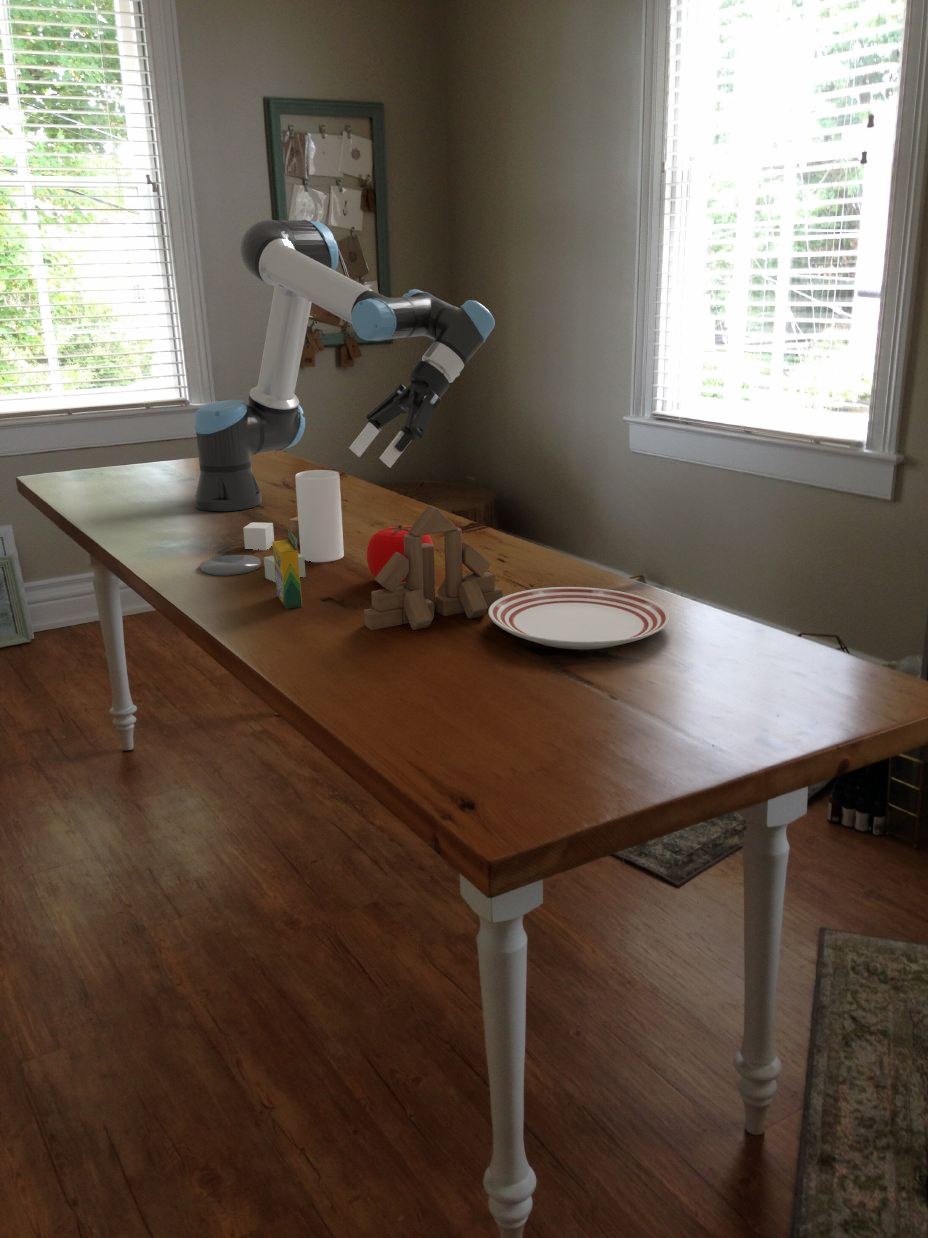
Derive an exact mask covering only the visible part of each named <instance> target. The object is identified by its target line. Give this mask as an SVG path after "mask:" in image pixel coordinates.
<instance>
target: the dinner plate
mask: <svg viewBox="0 0 928 1238" xmlns="http://www.w3.org/2000/svg"><path fill="white" fill-rule="evenodd" d="M487 612H488V617H489V619H490V620H491V621H492V622H493V624H495V625H496V626H498V627H499V628H500V629H502V630H504V631H506V632H507V633H509V634H512V635H513V636H516V637H518V638H521V639H525V640H527V641H530V642H534V643H536V644H539V645H543V646H546V647H552V648H559V649H566V650H597V649H605V648H613V647H617V646H622V645H624V644H628V643H632V642H633V643H634V642H636V641H640V640H642V639H644V638H645V639H646V638H647V637H650V636H652V635H653V634H654V635H655V634H656V633H658V632H659V631H661V630H663V629H664V628H666V627H667V625H669V623H670V621H671V619H670V618H671V616H670V614H669V612H668V610H666V608H665V607H664V606H663V605H661V604H660V603H657V602H655V601H653V600H652V599H649V598H646V597H643V596H640V595H636V594H634V593H628V592H625V591H624V592H623V591H619V590H613V589H605V588H597V587H585V586H584V587H583V586H556V587H553V586H552V587H540V588H535V589H533V588H532V589H527V590H523V591H518V592H515V593H514V592H513V593H511V594H508V595H505V596H502V598H500V599H498V600H497V601H495V602H494V603H493V604H492V605H491V606H490V607H488V610H487Z"/></svg>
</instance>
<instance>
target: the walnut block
mask: <svg viewBox="0 0 928 1238" xmlns="http://www.w3.org/2000/svg"><path fill="white" fill-rule="evenodd" d="M288 521H289V531H290V532H291V533H292V534H293V535H294V536H295V538H297V545H300V538H299V524H298V515H297V516H295V517H293V518H290V519H289V520H288ZM291 540H292V542H294V539H293V538H292V537H291Z"/></svg>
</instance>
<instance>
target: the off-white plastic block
mask: <svg viewBox="0 0 928 1238" xmlns="http://www.w3.org/2000/svg"><path fill="white" fill-rule="evenodd" d="M242 530H243V541H244V550H245V549H253V550H252V551H268V550H269V549H270V548H272V547H273V544H272V542H273V541H275V534H274V523H273V522H257V521H256V522H254V521H253V522H250V523H249V524H247V525H245V526H244V527H243V529H242ZM271 546H272V547H271ZM258 549H259V550H258ZM267 549H268V550H267Z"/></svg>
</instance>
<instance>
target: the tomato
mask: <svg viewBox="0 0 928 1238" xmlns="http://www.w3.org/2000/svg"><path fill="white" fill-rule="evenodd" d="M412 526H413V525H402V524H399V525H398V524H395V525H394V526H393V525H392V526H388V527H385V528H381V529H379V530H378V531H376V532H375V533H374V534H373V535H371V538H370V539H369V541H368V543H367V544H368V545H367V549H366V562H367V567H368V569H369V571H370V574H371V575H372V577H374V579H375V578H376V576H377V575H378V574H379V573H380V571H381V570H382V569H383V567H384V566H385V565H386V564H387V562H388V561H389V560H390V558H391V557H392V556H393V555H394V553H395V552H398V553H400V554H402V555H403V556H405V555H404V536H405V535H406V534H410V533H408V531H409V530H410V528H411V527H412ZM423 543H429V544H433V545H434V542H433V540H432V538H431V535H430V534H428V535H422V544H423ZM435 552H436V551H435V550H434V553H435ZM403 582H405V578H404V579H403V581H402V582H401V583H403Z"/></svg>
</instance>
